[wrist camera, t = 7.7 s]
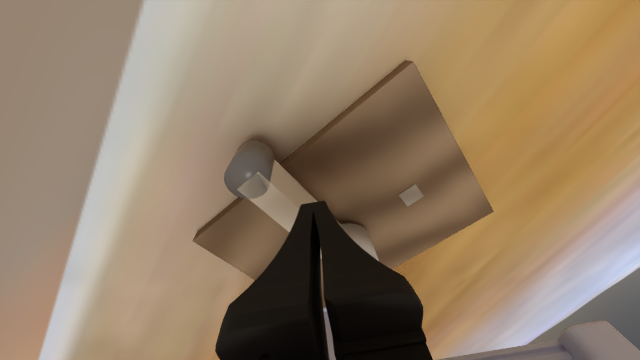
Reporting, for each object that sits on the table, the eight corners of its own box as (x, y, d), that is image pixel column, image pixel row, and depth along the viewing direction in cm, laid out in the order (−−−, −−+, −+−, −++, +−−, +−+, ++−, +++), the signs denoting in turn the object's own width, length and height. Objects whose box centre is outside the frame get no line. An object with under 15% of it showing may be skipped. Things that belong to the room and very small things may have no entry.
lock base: (484, 203, 23) (495, 213, 22) (310, 304, 29) (311, 317, 27) (406, 60, 16) (415, 61, 15) (197, 231, 22) (191, 243, 20)
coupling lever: (378, 243, 22) (390, 272, 19) (340, 266, 23) (346, 296, 20) (264, 124, 16) (257, 141, 13) (219, 163, 17) (204, 187, 14)
